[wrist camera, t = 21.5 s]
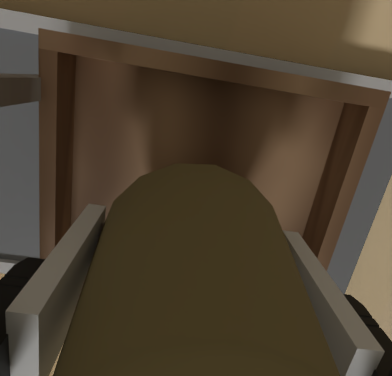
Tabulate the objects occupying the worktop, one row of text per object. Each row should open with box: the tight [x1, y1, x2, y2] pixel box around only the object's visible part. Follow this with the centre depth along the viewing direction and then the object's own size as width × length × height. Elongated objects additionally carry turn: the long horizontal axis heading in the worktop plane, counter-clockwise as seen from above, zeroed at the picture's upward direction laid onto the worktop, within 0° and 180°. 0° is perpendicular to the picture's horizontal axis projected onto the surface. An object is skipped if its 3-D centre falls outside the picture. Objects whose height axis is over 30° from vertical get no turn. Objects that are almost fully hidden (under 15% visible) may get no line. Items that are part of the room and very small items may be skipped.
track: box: [0, 8, 392, 294], centre depth 22 cm, size 38×18×1 cm, turn 81°
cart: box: [0, 28, 391, 271], centre depth 16 cm, size 17×16×12 cm
